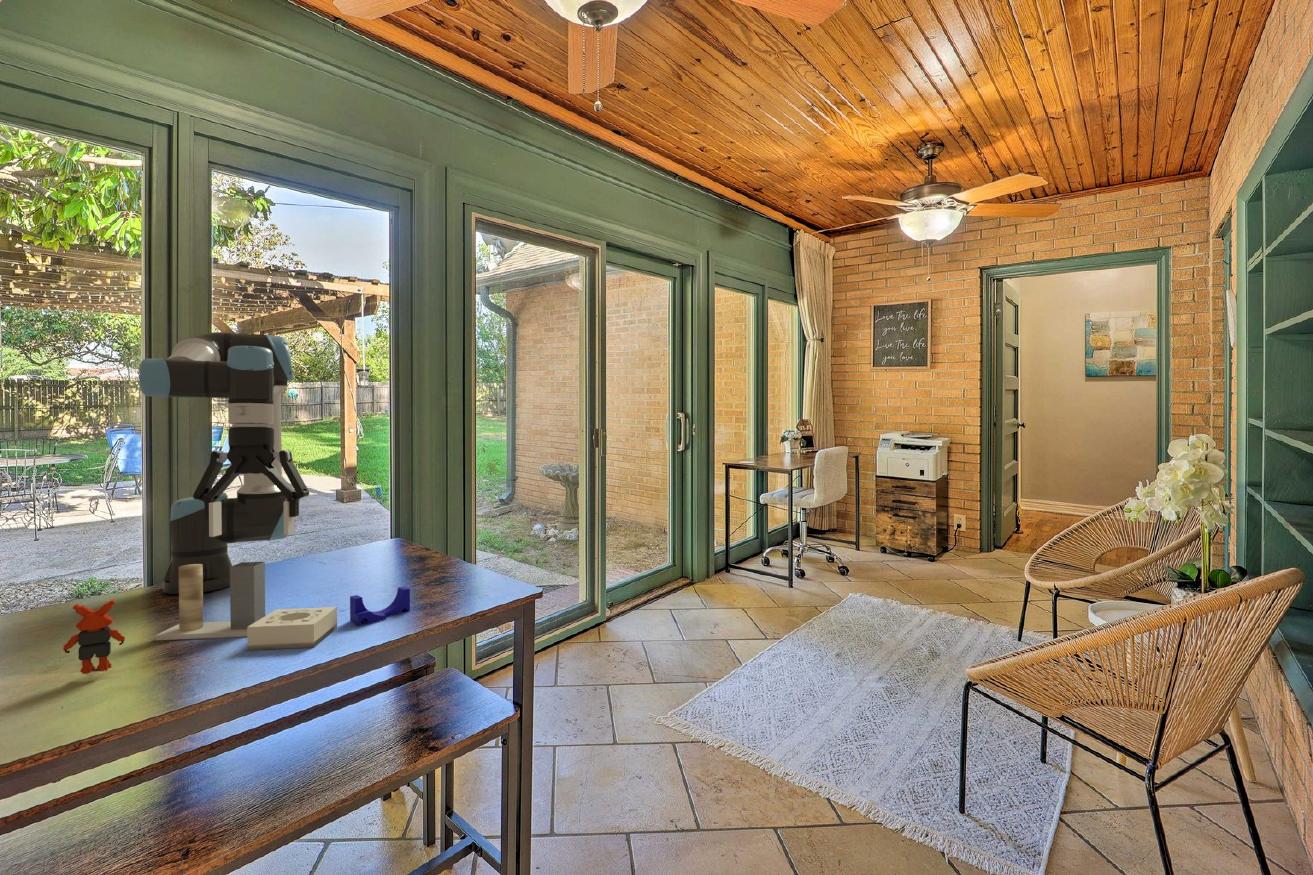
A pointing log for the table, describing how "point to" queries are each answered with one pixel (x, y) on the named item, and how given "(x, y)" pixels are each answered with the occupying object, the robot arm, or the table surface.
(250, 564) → the square bar
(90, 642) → the toy animal
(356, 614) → the blue curved cradle
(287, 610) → the socket block
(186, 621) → the beech dowel
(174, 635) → the strip
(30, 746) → the table surface
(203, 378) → the robot arm
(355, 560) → the table surface
